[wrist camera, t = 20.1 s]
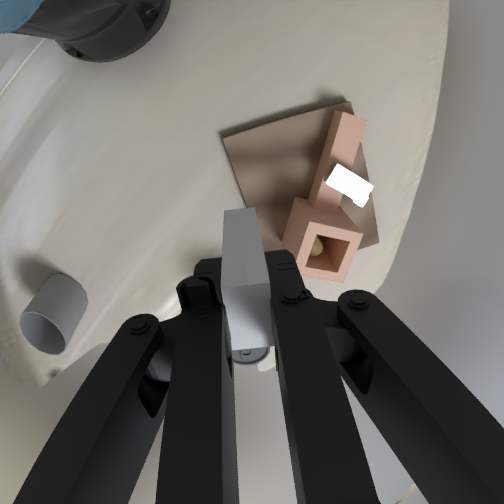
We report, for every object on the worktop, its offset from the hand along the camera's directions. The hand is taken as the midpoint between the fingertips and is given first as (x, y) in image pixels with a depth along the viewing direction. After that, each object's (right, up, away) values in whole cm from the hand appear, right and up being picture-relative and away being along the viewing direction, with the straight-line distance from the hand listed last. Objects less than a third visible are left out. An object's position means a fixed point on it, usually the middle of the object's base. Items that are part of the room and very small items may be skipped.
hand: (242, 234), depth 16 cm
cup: (-30, -8, +30) cm, 43 cm away
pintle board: (+8, +7, +24) cm, 27 cm away
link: (+10, +8, +23) cm, 26 cm away
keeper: (+11, +10, +23) cm, 27 cm away
